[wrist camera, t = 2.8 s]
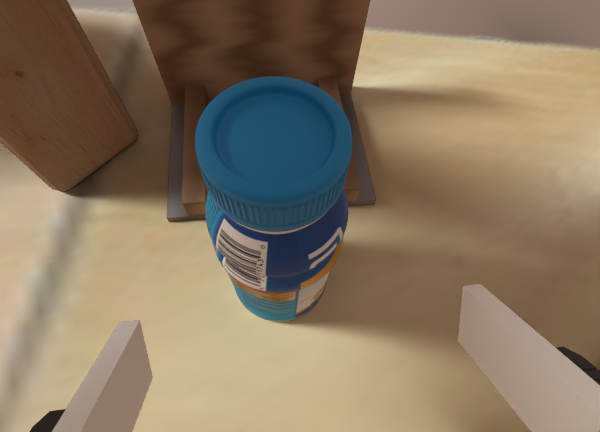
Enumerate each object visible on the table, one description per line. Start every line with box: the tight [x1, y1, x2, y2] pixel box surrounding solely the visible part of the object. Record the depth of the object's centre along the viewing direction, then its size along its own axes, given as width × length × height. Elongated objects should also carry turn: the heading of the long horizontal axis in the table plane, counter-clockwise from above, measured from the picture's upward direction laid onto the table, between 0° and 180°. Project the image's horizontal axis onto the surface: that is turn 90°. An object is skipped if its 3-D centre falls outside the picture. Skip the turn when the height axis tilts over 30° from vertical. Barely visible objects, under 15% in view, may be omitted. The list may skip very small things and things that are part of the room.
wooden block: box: [0, 0, 138, 192], centre depth 30 cm, size 10×10×20 cm
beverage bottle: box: [195, 76, 353, 322], centre depth 24 cm, size 8×8×20 cm
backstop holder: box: [133, 0, 376, 222], centre depth 32 cm, size 20×16×16 cm
